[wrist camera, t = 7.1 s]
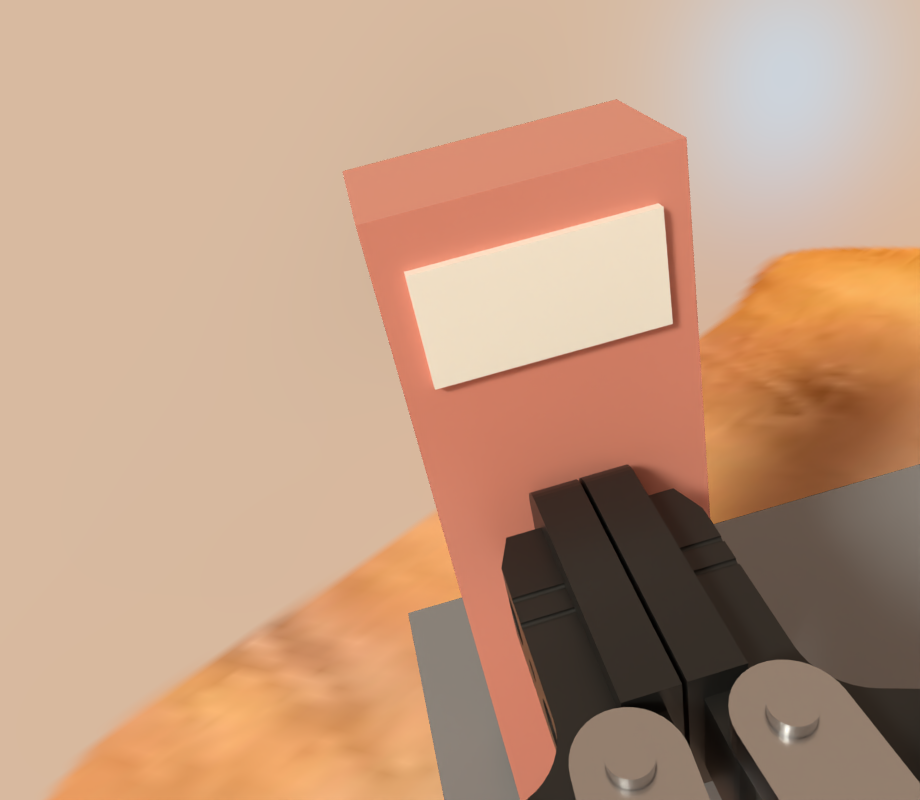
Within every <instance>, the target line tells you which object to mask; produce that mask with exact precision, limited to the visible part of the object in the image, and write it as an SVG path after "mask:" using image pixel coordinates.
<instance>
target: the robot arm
mask: <svg viewBox="0 0 920 800" xmlns="http://www.w3.org/2000/svg"><path fill="white" fill-rule="evenodd" d="M529 500H530V506H531V511H532V516H533V521H534V527H535V529H534V530H531V531H527V532H524V533H520V534H517V535H514V536H510V537H507V538H506V543H505V549H504V555H503V561H502V567H501V569H502V573H503V577H504V581H505V586H506V590H507V594H508V598H509V603H510V607H511V611H512V615H513V620H514V624H515V628H516V632H517V636H518V639H519V642H520V645H521V648H522V651H523V654H524V657H525V660H526V663H527V665H528V668H529V672H530V675H531V678H532V681H533V684H534V687H535V689H536V692H537V695H538V698H539V701H540V704H541V707H542V710H543V713H544V716H545V719H546V722H547V725H548V728H549V731H550V734H551V737H552V740H553V743H554V746H555V749H556V754H555V758H554V762H553V765H552V767H551V770H550V772H549V774H548V775H547V777H546V779H545V780H544V782H543V783H542V785H541V786H540V787H539V788H538V789H537V790H536V792H534V793H533V794H532V795H531V796H530V797H529V798H528V799H526V800H710V798H709V795H708V793H707V790H706V788H705V785H704V783H707V782H710V781H713V782H714V784H715V786H716V789H717V791H718V793H719V795H720V797H721V799H722V800H920V689H902V688H868V687H862V686H856V685H852V684H849V683H846V682H842V681H840V680H837V679H835V678H833V677H832V676H831V675H829V674H828V673H826V672H824V671H823V670H821V669H819V668H817V667H814V666H813V665H812V664H810V663H809V662H808V661H807V660H806V659H805V658H804V657H803V656H802V655H801V654H800V653H799V651H798V650H797V649H796V648H795V646H794V645H793V643H792V642H791V640H790V639H789V637H788V636H787V634H786V633H785V631H784V630H783V628H782V627H781V625H780V624H779V622H778V621H777V619H776V618H775V616H774V615H773V613H772V612H771V610H770V609H769V607H768V606H767V604H766V603H765V601H764V600H763V598H762V597H761V595H760V594H759V592H758V591H757V589H756V588H755V586H754V585H753V583H752V582H751V580H750V579H749V577H748V575H747V574H746V572H745V571H744V569H743V568H742V566H741V565H740V564H738V563H737V561H736V557H735V556H734V554H733V553H732V551H731V550H730V548H729V547H728V545H727V544H726V542H725V541H723V540H722V538H721V535H720V533H719V532H718V530H717V529H716V527H715V526H714V524H713V523H712V521H711V520H710V518H709V517H708V515H707V514H706V512H705V511H704V509H703V508H702V507H700V506H699V505H697V504H696V503H695V502H693V501H692V500H690V499H689V498H687V497H686V496H684V495H683V494H681V493H680V492H678V491H677V490H675V489H674V488H672V489H669V490H665V491H662V492H659V493H655V494H652V495H648V494H647V492H646V491H645V489H644V487H643V486H642V484H641V482H640V481H639V479H638V477H637V476H636V474H635V472H634V471H633V469H632V468H631V467H630V466H629V465H627V464H626V465H622V466H619V467H615V468H612V469H609V470H605V471H602V472H598V473H595V474H592V475H588V476H585V477H581V478H579V481H578V480H577V479H575V480H572V481H568V482H565V483H562V484H558V485H555V486H551V487H548V488H544V489H541V490H538V491H534V492H531V493H529Z"/></svg>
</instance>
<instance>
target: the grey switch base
mask: <svg viewBox="0 0 920 800" xmlns="http://www.w3.org/2000/svg"><path fill="white" fill-rule="evenodd" d="M714 526H715V527H716V529H717V530H718V532H719V533H720V535H721V538H722V540H723V541H725V542H726V544H727V545H728V547H729V548H730V550H731V551H732V553H733V554H734V556H735V557H736V561H737V563H738V564H740V565H741V566H742V568H743V569H744V571H745V572H746V574H747V575H748V577H749V579H750V580H751V582H752V583H753V585H754V586H755V588H756V589H757V591H758V592H759V594H760V595H761V597H762V598H763V600H764V601H765V603H766V604H767V606H768V607H769V609H770V610H771V612H772V613H773V615H774V616H775V618H776V619H777V621H778V622H779V624H780V625H781V627H782V628H783V630H784V631H785V633H786V634H787V636H788V637H789V639H790V640H791V642H792V643H793V645H794V646H795V648H796V649H797V650H798V651H799V653H800V654H801V655H802V656H803V657H804V658H805V659H806V660H807V661H808V662H809V663H810V664H812V665H813V666H814V667H817V668H819V669H821V670H823V671H824V672H826V673H828V674H829V675H831V676H832V677H833V678H835V679H837V680H840V681H842V682H846V683H849V684H852V685H856V686H862V687H868V688H902V689H920V464H919V465H915V466H912V467H909V468H905V469H902V470H898V471H895V472H891V473H888V474H885V475H881V476H878V477H874V478H871V479H867V480H864V481H861V482H857V483H854V484H850V485H847V486H843V487H840V488H837V489H833V490H830V491H826V492H823V493H819V494H816V495H813V496H809V497H806V498H802V499H799V500H795V501H792V502H789V503H785V504H782V505H778V506H775V507H771V508H768V509H764V510H761V511H758V512H754V513H751V514H747V515H744V516H740V517H737V518H734V519H730V520H727V521H723V522H720V523H716V524H714ZM408 614H409V619H410V624H411V630H412V635H413V640H414V645H415V650H416V655H417V661H418V666H419V671H420V676H421V681H422V686H423V692H424V697H425V702H426V707H427V712H428V718H429V723H430V728H431V733H432V738H433V743H434V749H435V754H436V759H437V764H438V769H439V774H440V780H441V785H442V790H443V795H444V800H520V798H519V794H518V791H517V787H516V784H515V780H514V777H513V773H512V770H511V766H510V763H509V759H508V756H507V752H506V749H505V745H504V742H503V738H502V735H501V731H500V728H499V724H498V721H497V717H496V714H495V710H494V707H493V703H492V700H491V696H490V693H489V689H488V686H487V682H486V679H485V675H484V672H483V668H482V665H481V661H480V658H479V654H478V651H477V647H476V644H475V640H474V637H473V633H472V630H471V626H470V623H469V619H468V616H467V613H466V609H465V606H464V602H463V599H462V598H459V599H456V600H452V601H449V602H445V603H442V604H439V605H435V606H432V607H428V608H425V609H421V610H418V611H414V612H411V613H408ZM704 785H705V788H706V790H707V793H708V795H709V798H710V800H722V799H721V797H720V795H719V793H718V791H717V789H716V786H715V784H714V782H713V781H710V782H707V783H704Z"/></svg>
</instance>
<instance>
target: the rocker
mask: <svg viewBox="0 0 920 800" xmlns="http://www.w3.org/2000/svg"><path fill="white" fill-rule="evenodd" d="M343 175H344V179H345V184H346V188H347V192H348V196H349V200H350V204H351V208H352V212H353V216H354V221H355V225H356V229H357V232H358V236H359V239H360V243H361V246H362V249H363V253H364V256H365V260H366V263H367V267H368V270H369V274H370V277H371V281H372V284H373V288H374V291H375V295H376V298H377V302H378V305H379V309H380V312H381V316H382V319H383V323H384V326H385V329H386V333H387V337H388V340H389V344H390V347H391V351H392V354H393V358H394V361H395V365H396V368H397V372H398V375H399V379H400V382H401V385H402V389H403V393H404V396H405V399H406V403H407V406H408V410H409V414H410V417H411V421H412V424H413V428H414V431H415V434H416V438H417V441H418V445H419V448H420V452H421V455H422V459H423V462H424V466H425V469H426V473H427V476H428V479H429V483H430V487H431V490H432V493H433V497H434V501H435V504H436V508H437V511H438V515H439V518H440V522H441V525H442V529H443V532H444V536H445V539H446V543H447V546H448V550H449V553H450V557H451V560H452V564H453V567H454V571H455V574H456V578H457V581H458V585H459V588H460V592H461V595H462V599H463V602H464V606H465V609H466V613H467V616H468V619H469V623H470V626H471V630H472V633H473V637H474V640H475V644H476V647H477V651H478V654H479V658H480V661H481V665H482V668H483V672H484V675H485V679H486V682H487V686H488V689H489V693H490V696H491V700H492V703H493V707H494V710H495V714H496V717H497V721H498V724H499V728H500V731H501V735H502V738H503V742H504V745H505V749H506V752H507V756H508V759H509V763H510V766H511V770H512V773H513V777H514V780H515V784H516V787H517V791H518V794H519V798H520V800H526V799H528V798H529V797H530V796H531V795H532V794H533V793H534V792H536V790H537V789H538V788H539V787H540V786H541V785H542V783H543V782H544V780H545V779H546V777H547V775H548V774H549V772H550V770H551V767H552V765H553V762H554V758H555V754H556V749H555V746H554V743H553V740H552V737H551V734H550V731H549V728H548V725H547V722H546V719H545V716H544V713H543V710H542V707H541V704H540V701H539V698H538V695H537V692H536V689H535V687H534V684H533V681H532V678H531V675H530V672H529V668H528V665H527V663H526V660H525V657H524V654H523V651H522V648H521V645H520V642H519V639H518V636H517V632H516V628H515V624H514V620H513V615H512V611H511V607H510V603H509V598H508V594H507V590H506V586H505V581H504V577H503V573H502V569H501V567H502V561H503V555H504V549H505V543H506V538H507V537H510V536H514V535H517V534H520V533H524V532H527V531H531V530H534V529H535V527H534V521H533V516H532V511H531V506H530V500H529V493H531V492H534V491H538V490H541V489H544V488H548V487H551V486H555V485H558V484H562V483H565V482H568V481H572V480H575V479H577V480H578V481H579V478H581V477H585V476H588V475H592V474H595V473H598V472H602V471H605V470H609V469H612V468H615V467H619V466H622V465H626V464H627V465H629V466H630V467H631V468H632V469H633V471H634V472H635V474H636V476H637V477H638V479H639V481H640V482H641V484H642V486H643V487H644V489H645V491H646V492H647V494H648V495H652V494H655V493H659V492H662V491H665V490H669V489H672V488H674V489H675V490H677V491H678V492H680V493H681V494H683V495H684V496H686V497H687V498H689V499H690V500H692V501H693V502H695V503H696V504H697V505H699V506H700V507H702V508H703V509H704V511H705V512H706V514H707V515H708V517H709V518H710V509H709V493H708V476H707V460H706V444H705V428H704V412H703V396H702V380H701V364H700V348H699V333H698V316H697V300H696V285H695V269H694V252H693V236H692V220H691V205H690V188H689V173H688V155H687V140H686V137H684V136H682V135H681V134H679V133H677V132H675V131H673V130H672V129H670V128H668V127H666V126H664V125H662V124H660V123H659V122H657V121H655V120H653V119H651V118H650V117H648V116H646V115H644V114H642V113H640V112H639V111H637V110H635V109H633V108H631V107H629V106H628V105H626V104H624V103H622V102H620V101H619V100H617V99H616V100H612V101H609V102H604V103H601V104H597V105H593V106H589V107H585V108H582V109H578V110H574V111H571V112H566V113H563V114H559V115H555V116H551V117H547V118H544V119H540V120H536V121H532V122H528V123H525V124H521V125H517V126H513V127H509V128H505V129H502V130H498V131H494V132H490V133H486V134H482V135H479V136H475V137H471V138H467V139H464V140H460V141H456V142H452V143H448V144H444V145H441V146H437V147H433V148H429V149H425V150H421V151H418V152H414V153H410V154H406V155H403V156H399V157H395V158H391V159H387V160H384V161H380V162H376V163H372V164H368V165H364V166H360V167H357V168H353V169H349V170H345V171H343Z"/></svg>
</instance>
